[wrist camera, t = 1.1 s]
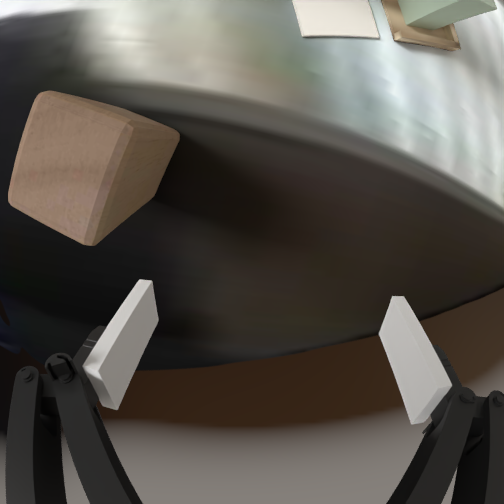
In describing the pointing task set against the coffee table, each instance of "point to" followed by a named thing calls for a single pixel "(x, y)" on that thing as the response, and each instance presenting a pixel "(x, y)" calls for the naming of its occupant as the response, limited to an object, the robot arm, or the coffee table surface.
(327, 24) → the pad
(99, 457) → the robot arm
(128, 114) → the block
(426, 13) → the tall block
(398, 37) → the shallow wooden tray
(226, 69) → the coffee table surface
